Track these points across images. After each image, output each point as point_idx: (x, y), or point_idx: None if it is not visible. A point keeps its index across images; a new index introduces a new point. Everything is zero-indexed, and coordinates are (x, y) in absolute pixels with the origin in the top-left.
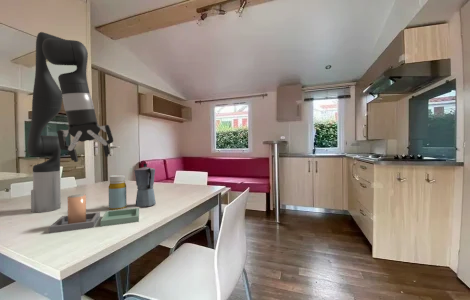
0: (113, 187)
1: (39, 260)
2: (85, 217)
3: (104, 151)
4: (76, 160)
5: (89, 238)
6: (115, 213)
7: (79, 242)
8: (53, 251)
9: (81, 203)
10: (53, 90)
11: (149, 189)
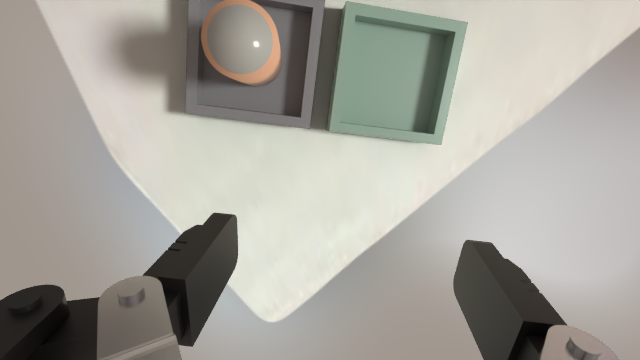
0: None
1: None
2: (280, 65)
3: (472, 331)
4: (231, 270)
5: (302, 199)
6: (377, 22)
7: (282, 215)
8: None
9: (266, 75)
10: None
11: None
